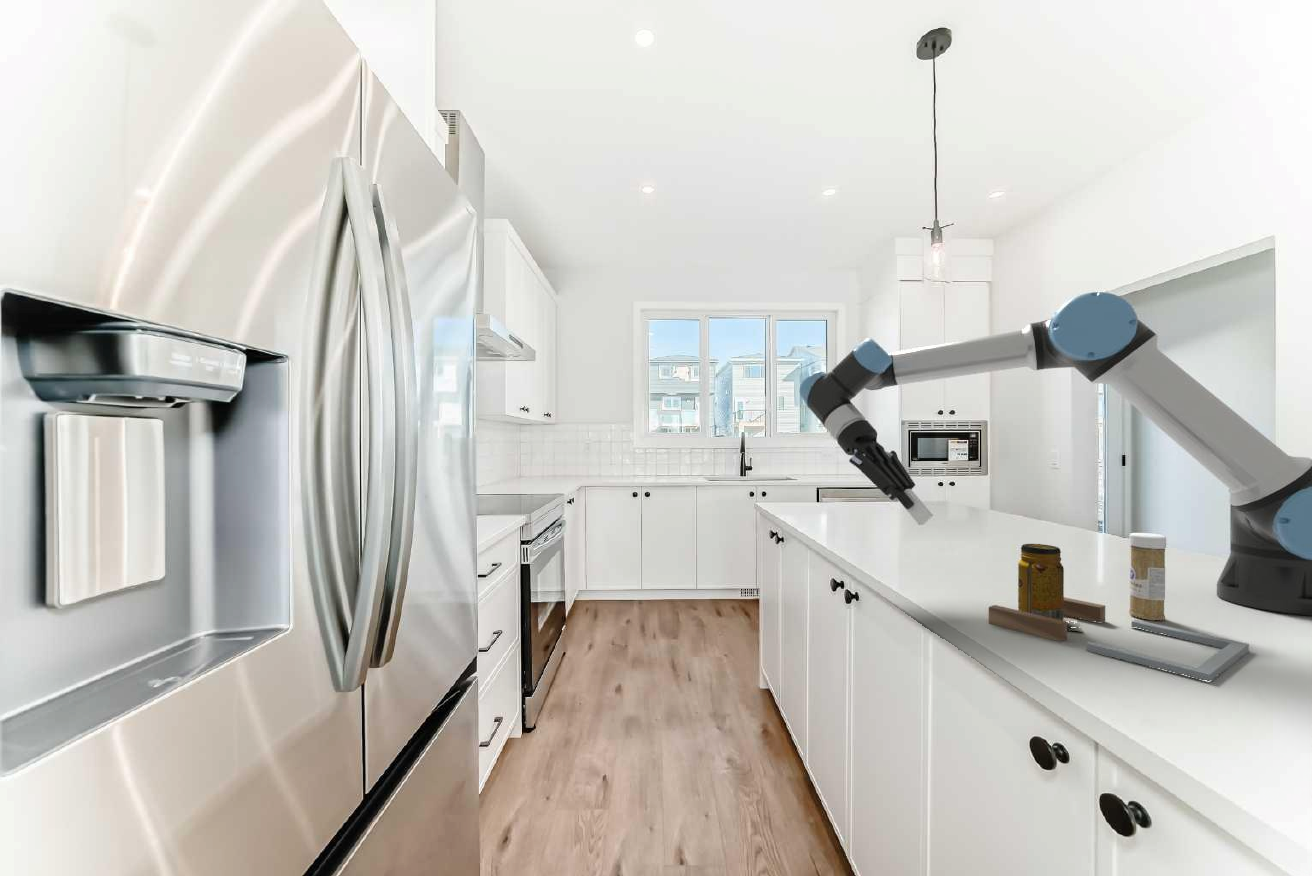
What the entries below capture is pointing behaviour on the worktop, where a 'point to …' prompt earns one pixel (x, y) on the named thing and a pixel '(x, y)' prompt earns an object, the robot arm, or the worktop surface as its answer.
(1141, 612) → the toothpick container
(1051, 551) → the condiment
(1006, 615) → the wooden blocks
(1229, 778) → the worktop surface
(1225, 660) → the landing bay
